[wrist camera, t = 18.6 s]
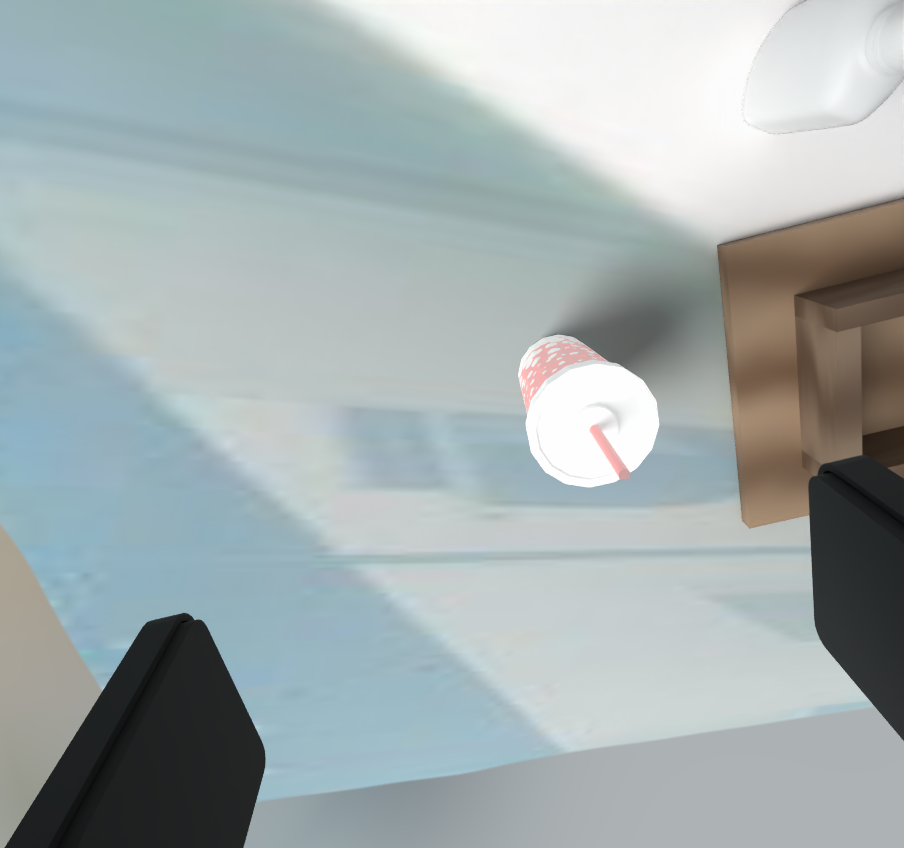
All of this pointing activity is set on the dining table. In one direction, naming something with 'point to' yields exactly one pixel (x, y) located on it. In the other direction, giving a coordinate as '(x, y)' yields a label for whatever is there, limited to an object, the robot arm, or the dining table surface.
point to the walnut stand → (814, 353)
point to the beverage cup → (585, 413)
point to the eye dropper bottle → (826, 65)
